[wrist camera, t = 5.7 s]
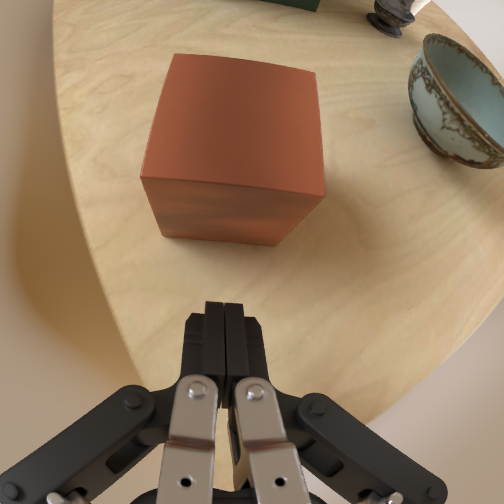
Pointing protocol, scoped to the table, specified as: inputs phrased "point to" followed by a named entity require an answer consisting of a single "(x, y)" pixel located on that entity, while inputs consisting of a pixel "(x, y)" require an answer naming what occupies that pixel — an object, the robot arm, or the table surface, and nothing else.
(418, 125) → the bowl
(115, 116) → the table surface
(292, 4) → the box
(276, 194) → the block
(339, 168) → the table surface
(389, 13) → the dark grey chess piece
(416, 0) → the cup
